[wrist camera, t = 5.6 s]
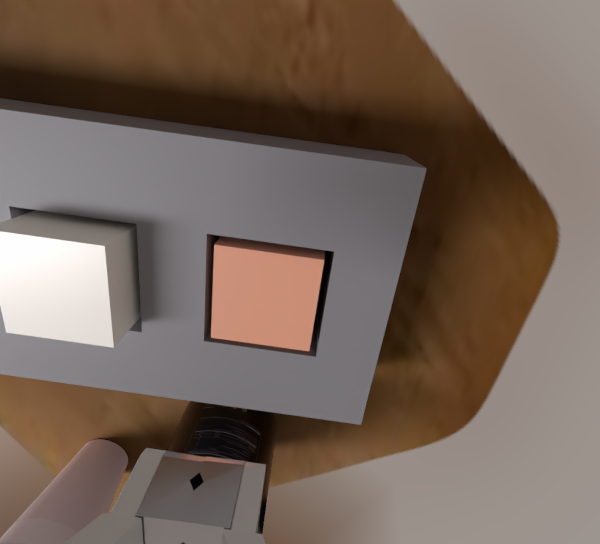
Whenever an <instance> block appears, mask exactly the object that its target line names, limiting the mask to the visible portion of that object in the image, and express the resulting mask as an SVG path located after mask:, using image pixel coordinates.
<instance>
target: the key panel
mask: <svg viewBox="0 0 600 544" xmlns="http://www.w3.org/2000/svg"><path fill="white" fill-rule="evenodd" d="M426 170H427V168H425V167H424V166H422V165H421V164H419V163H417V162H416V161H414V160H412V159H411V158H409V157H407V156H406V155H404V154H399V153H392V152H384V151H377V150H370V149H363V148H356V147H348V146H341V145H334V144H327V143H320V142H312V141H305V140H298V139H291V138H284V137H276V136H269V135H262V134H255V133H248V132H240V131H233V130H226V129H219V128H212V127H204V126H197V125H190V124H183V123H176V122H168V121H161V120H154V119H147V118H140V117H132V116H125V115H118V114H111V113H104V112H96V111H89V110H82V109H75V108H68V107H60V106H53V105H46V104H39V103H32V102H24V101H17V100H10V99H3V98H0V223H1V222H4V221H7V220H9V219H12V218H15V217H18V216H21V215H23V214H26V213H29V212H32V211H35V210H40V211H47V212H54V213H61V214H69V215H76V216H83V217H90V218H97V219H104V220H112V221H119V222H126V223H133V224H136V226H137V246H138V265H139V284H140V303H141V317H140V318H139V319H138V321H137V322H136V323H135V324H134V325H133V326H132V327H131V329H130V330H129V331H128V332H127V333H126V334H125V335H124V337H123V338H122V339H121V340H120V341H119V342H118V343H117V345H116V346H115V347H114V348H112V347H105V346H98V345H91V344H84V343H77V342H70V341H63V340H56V339H49V338H41V337H34V336H27V335H20V334H13V333H6V329H5V325H4V320H3V316H2V311H1V307H0V374H4V375H11V376H18V377H25V378H32V379H39V380H46V381H53V382H60V383H68V384H75V385H82V386H89V387H96V388H103V389H110V390H117V391H124V392H131V393H138V394H146V395H153V396H160V397H167V398H174V399H181V400H188V401H195V402H202V403H209V404H216V405H224V406H231V407H238V408H245V409H252V410H259V411H266V412H273V413H280V414H287V415H294V416H302V417H309V418H316V419H323V420H330V421H337V422H344V423H351V424H358V425H361V423H362V419H363V415H364V411H365V407H366V403H367V399H368V395H369V392H370V388H371V384H372V380H373V376H374V372H375V368H376V364H377V360H378V357H379V353H380V349H381V345H382V341H383V337H384V333H385V329H386V325H387V322H388V318H389V314H390V310H391V306H392V302H393V298H394V294H395V290H396V287H397V283H398V279H399V275H400V271H401V267H402V263H403V259H404V255H405V252H406V248H407V244H408V240H409V236H410V232H411V228H412V224H413V220H414V217H415V213H416V209H417V205H418V201H419V197H420V193H421V189H422V185H423V182H424V178H425V174H426ZM221 236H226V237H233V238H240V239H248V240H255V241H262V242H269V243H276V244H283V245H290V246H298V247H305V248H312V249H319V250H324V266H323V272H322V278H321V284H320V290H319V296H318V302H317V308H316V314H315V320H314V326H313V332H312V338H311V344H310V350H309V351H302V350H295V349H288V348H281V347H274V346H267V345H260V344H253V343H245V342H238V341H231V340H224V339H217V338H211V320H212V293H213V265H214V244H215V243H216V242H217V241H218V239H219V238H220V237H221Z"/></svg>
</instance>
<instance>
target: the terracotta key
mask: <svg viewBox="0 0 600 544" xmlns="http://www.w3.org/2000/svg"><path fill="white" fill-rule="evenodd" d="M323 266H324V250H319V249H312V248H305V247H298V246H290V245H283V244H276V243H269V242H262V241H255V240H248V239H240V238H233V237H226V236H221V237H220V238H219V239H218V241H217V242H216V243H215V244H214V265H213V293H212V320H211V338H217V339H224V340H231V341H238V342H245V343H253V344H260V345H267V346H274V347H281V348H288V349H295V350H302V351H309V350H310V344H311V338H312V332H313V326H314V320H315V314H316V308H317V302H318V296H319V290H320V284H321V278H322V272H323Z"/></svg>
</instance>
